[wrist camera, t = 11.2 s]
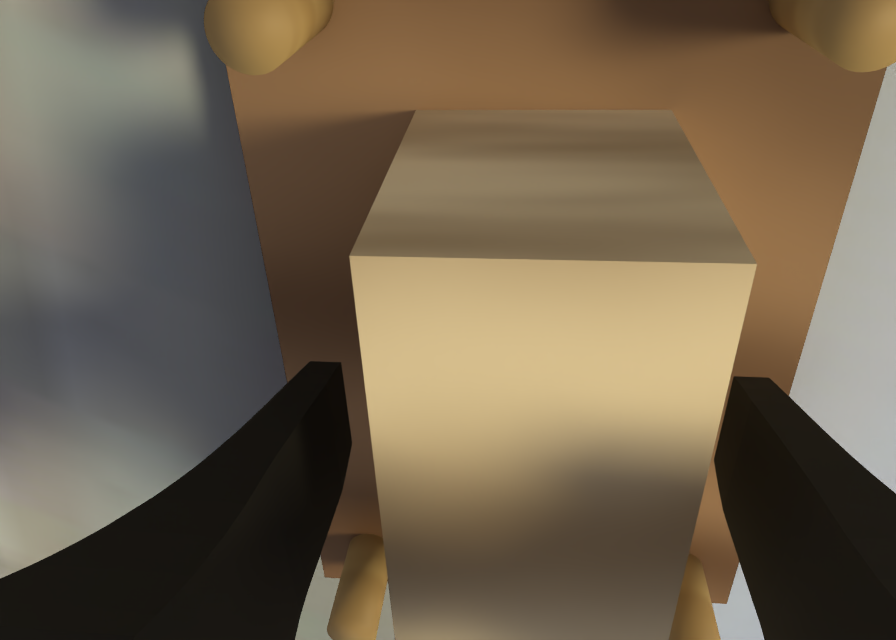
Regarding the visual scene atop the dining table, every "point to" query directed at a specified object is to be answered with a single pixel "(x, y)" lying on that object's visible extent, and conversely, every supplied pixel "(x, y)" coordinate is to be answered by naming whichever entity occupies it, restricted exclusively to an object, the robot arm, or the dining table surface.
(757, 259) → the chassis
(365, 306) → the block
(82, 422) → the dining table surface
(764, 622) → the robot arm
